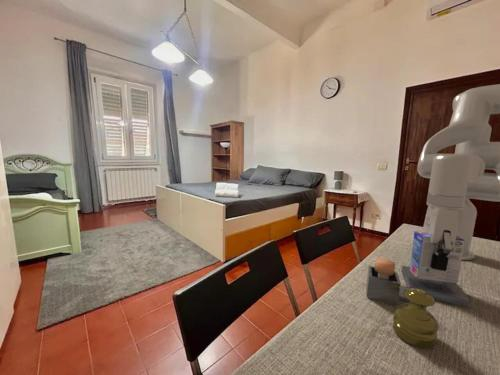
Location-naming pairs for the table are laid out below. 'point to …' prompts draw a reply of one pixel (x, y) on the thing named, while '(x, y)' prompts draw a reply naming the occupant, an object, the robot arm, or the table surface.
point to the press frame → (394, 291)
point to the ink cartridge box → (423, 259)
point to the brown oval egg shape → (384, 267)
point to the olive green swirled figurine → (416, 320)
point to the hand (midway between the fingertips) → (434, 263)
